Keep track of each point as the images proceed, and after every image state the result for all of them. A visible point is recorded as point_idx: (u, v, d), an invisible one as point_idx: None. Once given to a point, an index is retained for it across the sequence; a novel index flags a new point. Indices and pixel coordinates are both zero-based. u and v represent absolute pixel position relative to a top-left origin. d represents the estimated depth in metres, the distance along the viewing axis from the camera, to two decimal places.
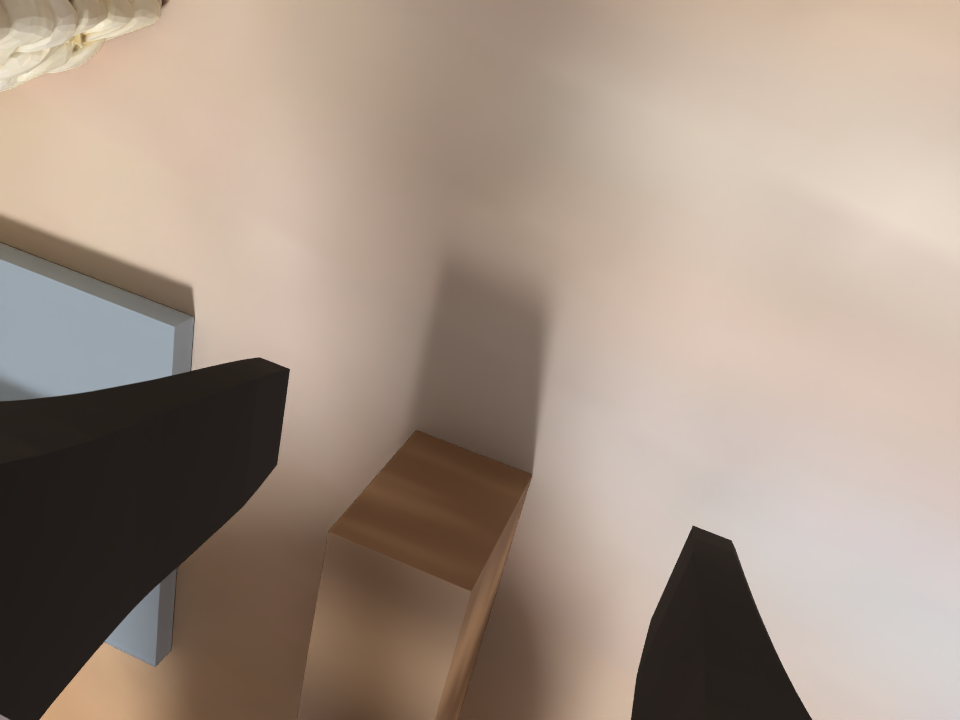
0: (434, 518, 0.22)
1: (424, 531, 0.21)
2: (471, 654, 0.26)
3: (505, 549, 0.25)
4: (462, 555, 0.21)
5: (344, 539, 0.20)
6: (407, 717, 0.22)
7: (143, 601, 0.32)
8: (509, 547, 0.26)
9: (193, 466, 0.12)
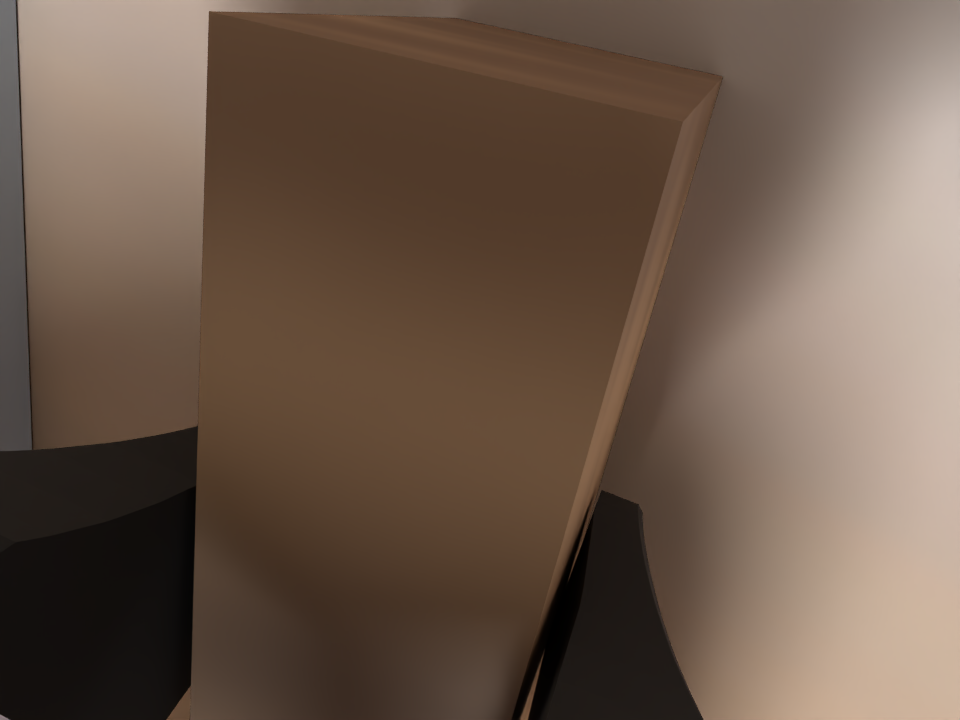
0: (520, 57, 0.08)
1: (500, 59, 0.07)
2: (588, 508, 0.12)
3: (668, 247, 0.11)
4: (619, 91, 0.07)
5: (259, 35, 0.07)
6: (464, 614, 0.08)
7: None
8: (663, 271, 0.12)
9: None
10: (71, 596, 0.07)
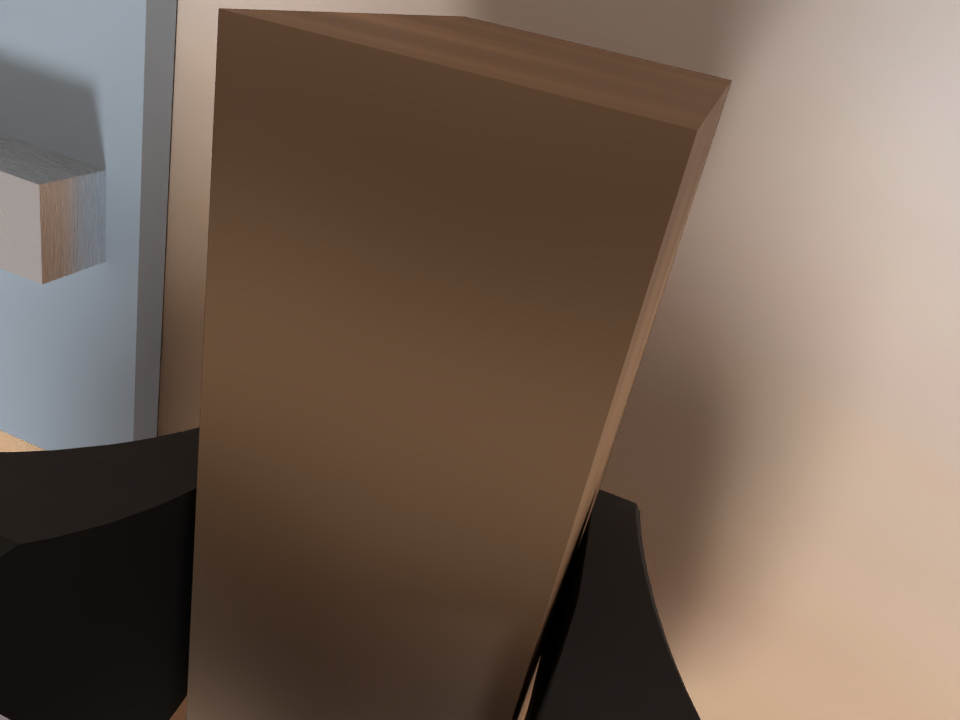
0: (532, 60, 0.08)
1: (511, 62, 0.07)
2: (588, 512, 0.12)
3: (674, 251, 0.11)
4: (631, 96, 0.07)
5: (269, 33, 0.07)
6: (465, 618, 0.08)
7: (112, 381, 0.22)
8: None
9: None
10: (75, 598, 0.07)
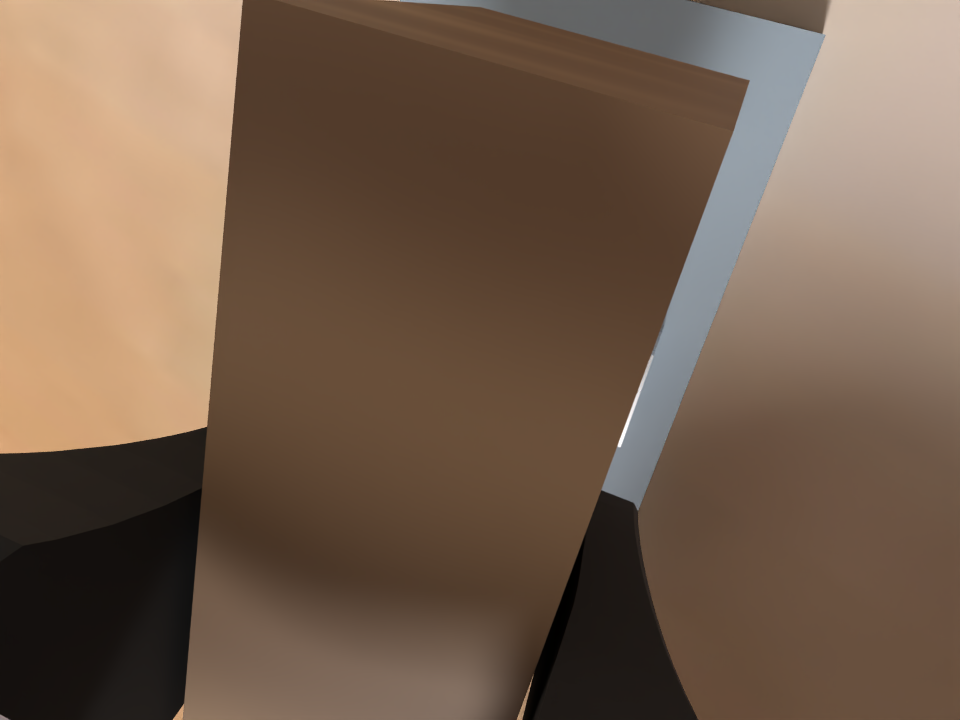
0: (557, 53, 0.08)
1: (536, 56, 0.07)
2: None
3: None
4: (660, 92, 0.07)
5: (295, 18, 0.06)
6: (473, 616, 0.08)
7: None
8: None
9: None
10: (78, 599, 0.07)
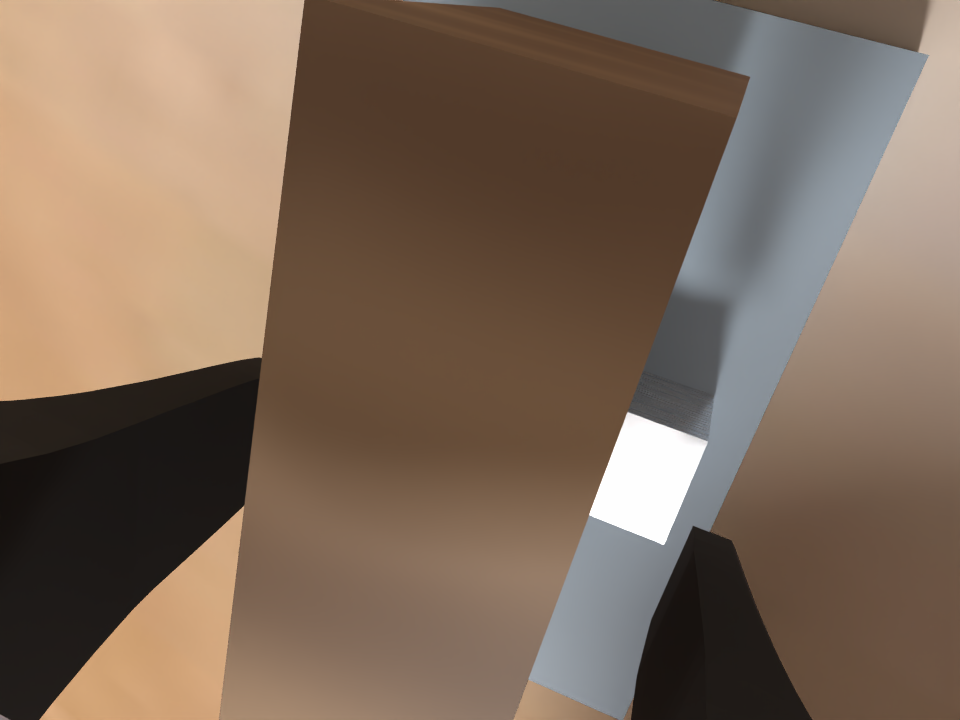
0: (577, 50, 0.09)
1: (560, 52, 0.08)
2: None
3: None
4: (672, 85, 0.08)
5: (350, 18, 0.07)
6: (500, 559, 0.09)
7: (636, 612, 0.18)
8: None
9: (193, 466, 0.12)
10: None
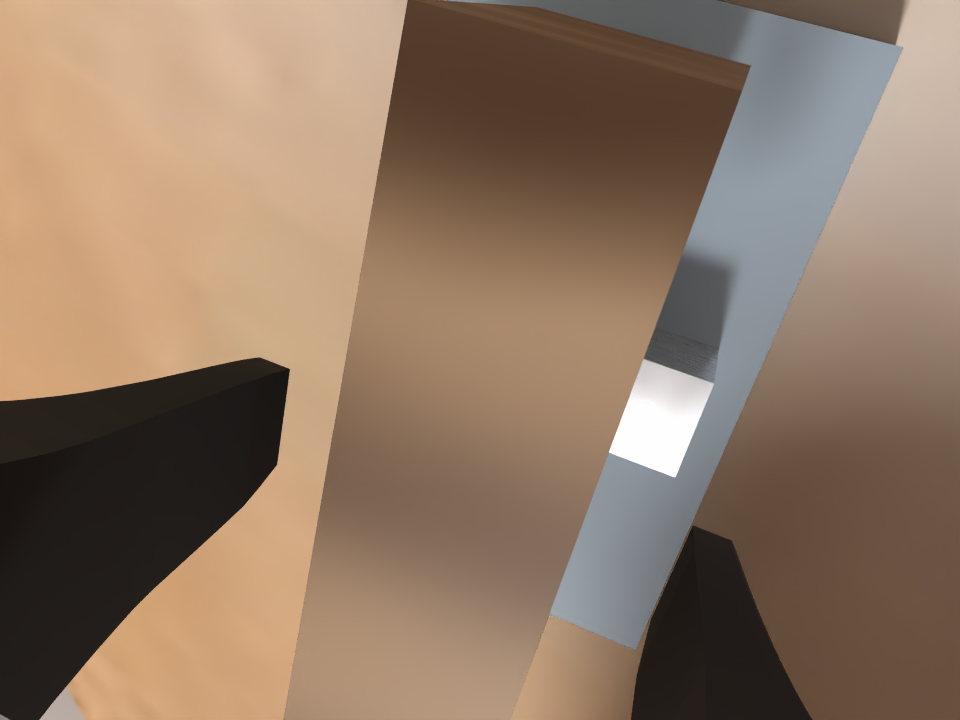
0: (612, 42, 0.11)
1: (602, 43, 0.10)
2: None
3: None
4: (691, 68, 0.10)
5: (443, 17, 0.09)
6: (550, 453, 0.11)
7: (649, 548, 0.20)
8: None
9: (194, 466, 0.12)
10: None
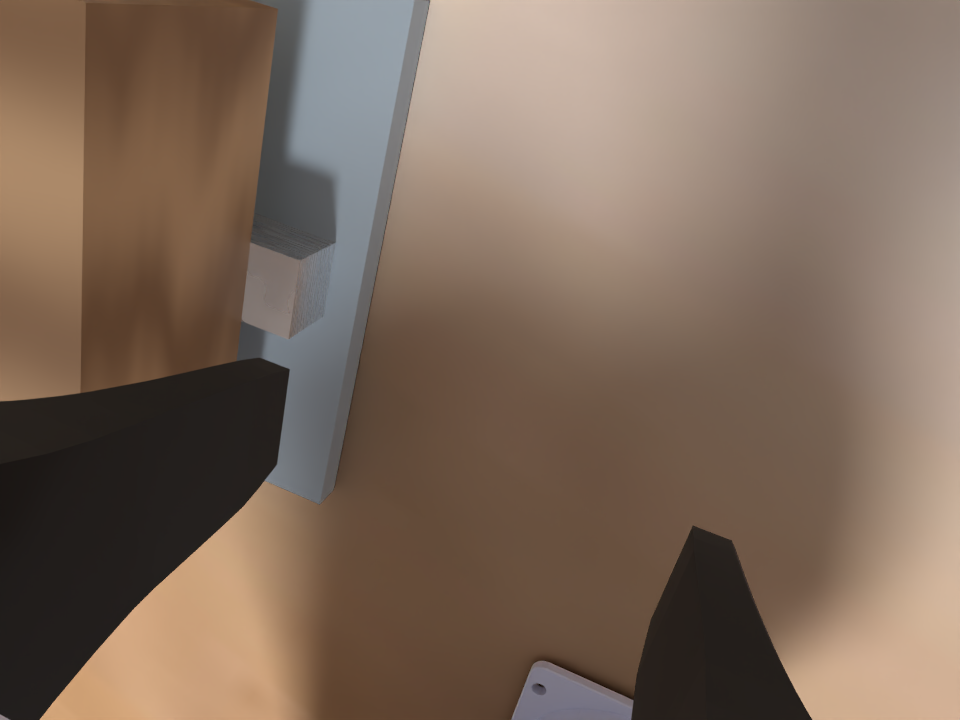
0: None
1: None
2: (203, 270, 0.20)
3: (235, 106, 0.18)
4: None
5: None
6: (51, 267, 0.16)
7: (315, 414, 0.25)
8: (255, 128, 0.19)
9: (193, 465, 0.12)
10: None
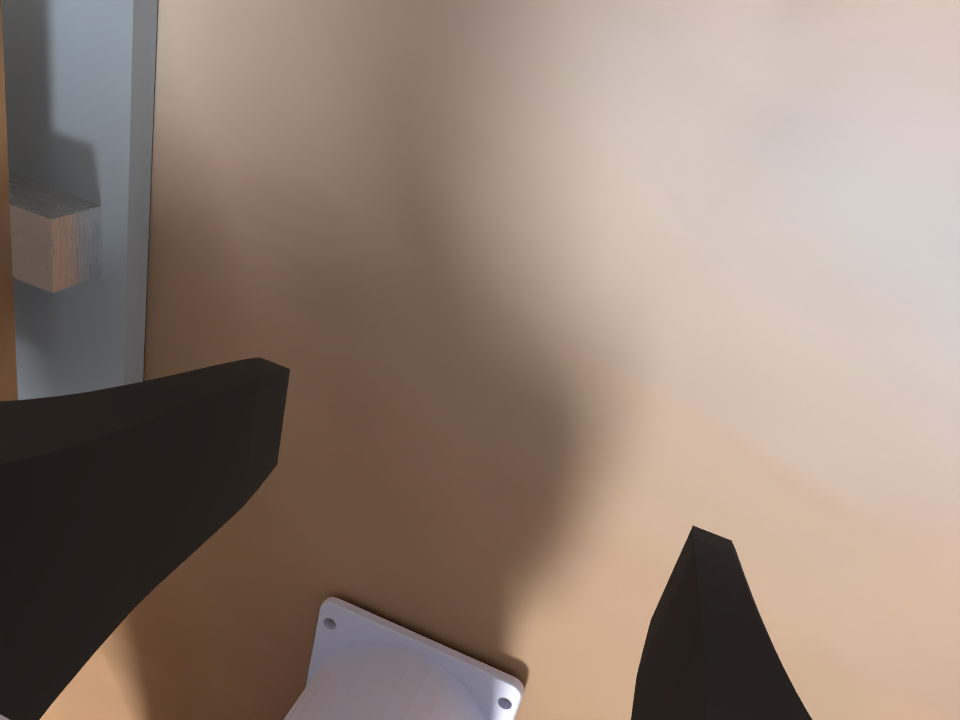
0: None
1: None
2: None
3: None
4: None
5: None
6: None
7: (106, 368, 0.28)
8: None
9: (193, 466, 0.12)
10: None
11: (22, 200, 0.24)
